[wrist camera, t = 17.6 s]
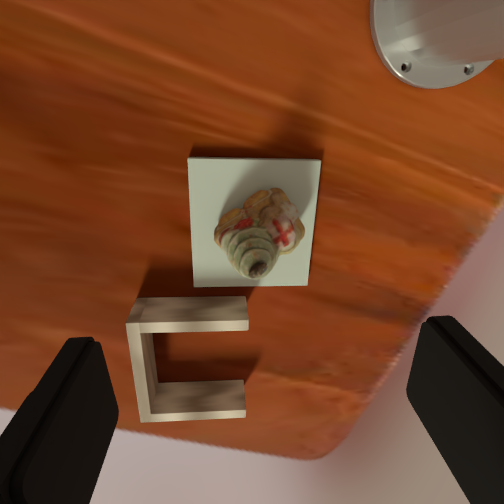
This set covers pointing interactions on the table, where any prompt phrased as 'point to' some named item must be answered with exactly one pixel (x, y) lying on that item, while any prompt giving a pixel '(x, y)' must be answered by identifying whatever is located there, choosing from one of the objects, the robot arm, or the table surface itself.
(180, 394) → the shelf bay
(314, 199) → the tile mat
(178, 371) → the table surface
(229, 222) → the ornament
